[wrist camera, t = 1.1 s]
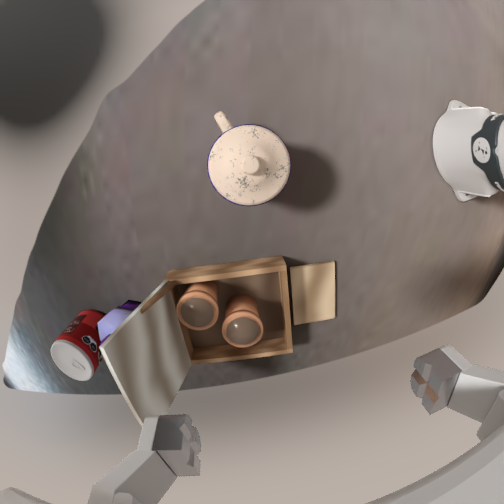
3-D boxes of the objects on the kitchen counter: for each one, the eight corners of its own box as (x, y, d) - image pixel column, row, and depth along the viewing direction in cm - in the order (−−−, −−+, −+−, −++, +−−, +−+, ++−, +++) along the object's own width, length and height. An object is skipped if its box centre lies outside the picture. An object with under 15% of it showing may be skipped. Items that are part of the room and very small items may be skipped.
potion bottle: (104, 297, 43) (72, 334, 31) (147, 286, 42) (121, 326, 31) (125, 338, 45) (101, 382, 34) (167, 331, 45) (150, 378, 33)
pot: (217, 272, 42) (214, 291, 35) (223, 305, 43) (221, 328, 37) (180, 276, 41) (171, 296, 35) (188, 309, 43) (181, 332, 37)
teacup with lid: (290, 178, 39) (312, 183, 27) (234, 209, 39) (233, 227, 28) (249, 104, 35) (254, 81, 24) (191, 136, 36) (173, 125, 25)
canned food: (115, 349, 46) (94, 387, 35) (79, 336, 45) (53, 370, 34) (116, 315, 44) (91, 353, 33) (77, 302, 43) (47, 334, 32)
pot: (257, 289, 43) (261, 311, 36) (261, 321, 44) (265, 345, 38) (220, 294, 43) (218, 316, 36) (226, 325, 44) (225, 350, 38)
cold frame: (281, 255, 42) (315, 327, 23) (288, 338, 46) (314, 428, 28) (150, 272, 42) (98, 347, 23) (173, 351, 46) (149, 439, 27)
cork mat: (333, 260, 43) (334, 262, 42) (333, 316, 46) (334, 317, 45) (289, 267, 42) (290, 268, 42) (293, 323, 46) (294, 325, 45)
